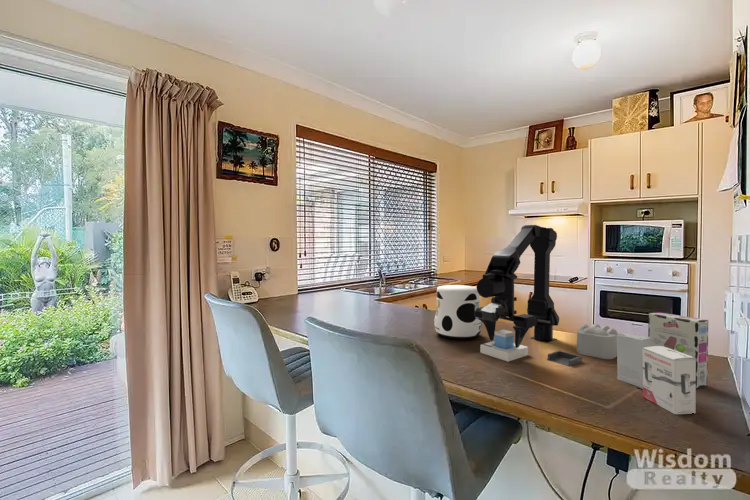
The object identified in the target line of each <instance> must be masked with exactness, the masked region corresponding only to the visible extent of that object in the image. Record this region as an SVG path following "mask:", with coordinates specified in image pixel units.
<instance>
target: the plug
mask: <svg viewBox="0 0 750 500" xmlns="http://www.w3.org/2000/svg"><path fill="white" fill-rule="evenodd" d="M494 341H495V346H496V347H499V348H502V349H510V348H513V347H514V343H515V331H511V330H507V329H499V330H495V335H494Z"/></svg>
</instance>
